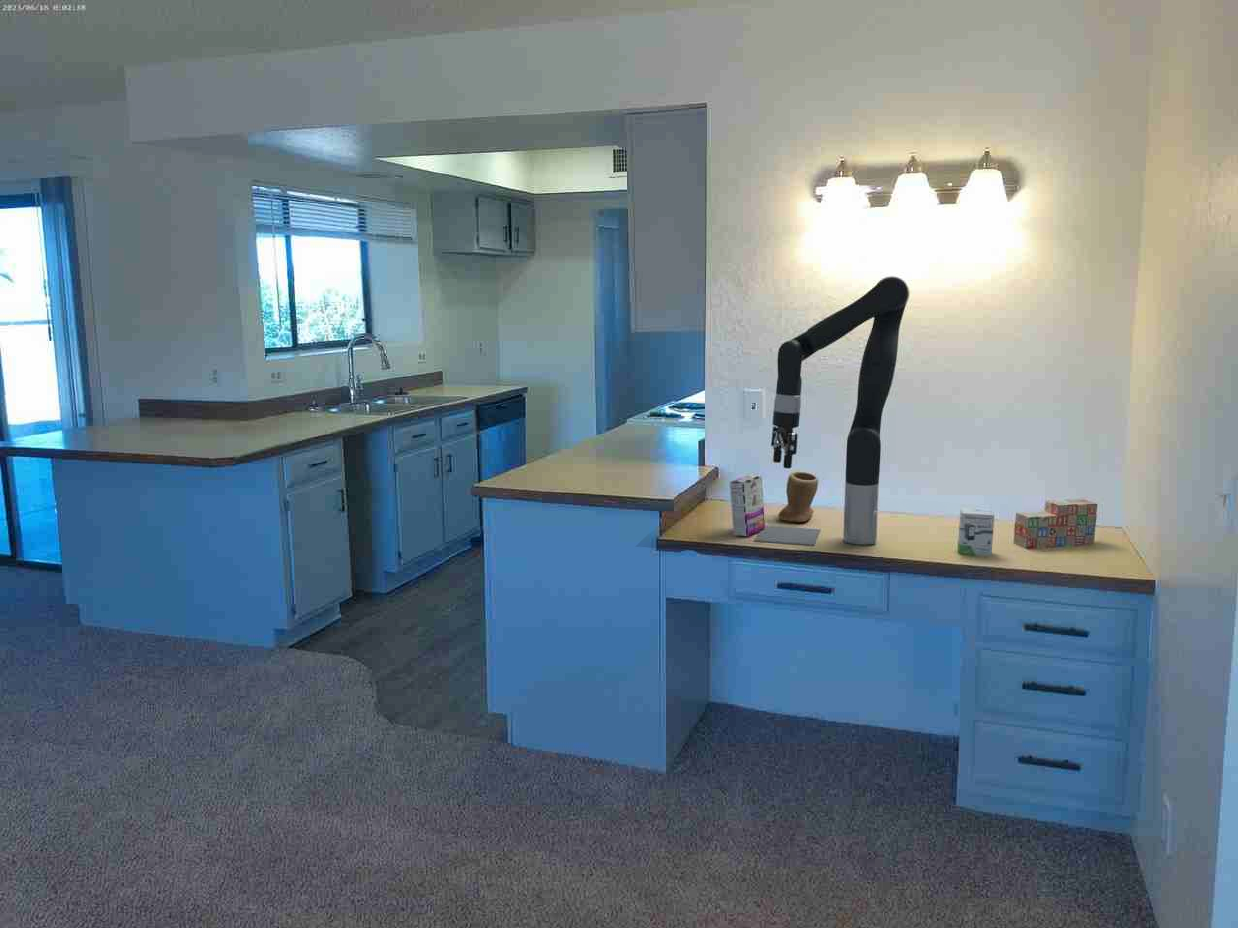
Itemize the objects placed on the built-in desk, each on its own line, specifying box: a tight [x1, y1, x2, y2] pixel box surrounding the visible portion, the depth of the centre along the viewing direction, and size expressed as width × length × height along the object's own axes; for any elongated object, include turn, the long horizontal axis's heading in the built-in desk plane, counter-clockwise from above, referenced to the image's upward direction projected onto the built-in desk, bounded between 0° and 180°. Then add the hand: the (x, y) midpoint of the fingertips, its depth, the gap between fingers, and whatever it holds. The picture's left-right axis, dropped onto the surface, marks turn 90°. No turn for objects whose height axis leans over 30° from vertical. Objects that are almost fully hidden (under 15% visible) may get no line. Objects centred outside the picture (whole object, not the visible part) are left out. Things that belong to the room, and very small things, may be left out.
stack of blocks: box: [1013, 498, 1098, 550], centre depth 274 cm, size 21×6×12 cm, turn 101°
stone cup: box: [777, 470, 819, 523], centre depth 305 cm, size 15×12×15 cm
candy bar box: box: [729, 474, 766, 537], centre depth 288 cm, size 11×5×16 cm, turn 143°
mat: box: [753, 525, 821, 547], centre depth 286 cm, size 17×18×1 cm
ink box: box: [957, 508, 995, 557], centre depth 266 cm, size 9×5×12 cm, turn 75°
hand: (781, 465), depth 283 cm, fingers open, 8 cm apart
